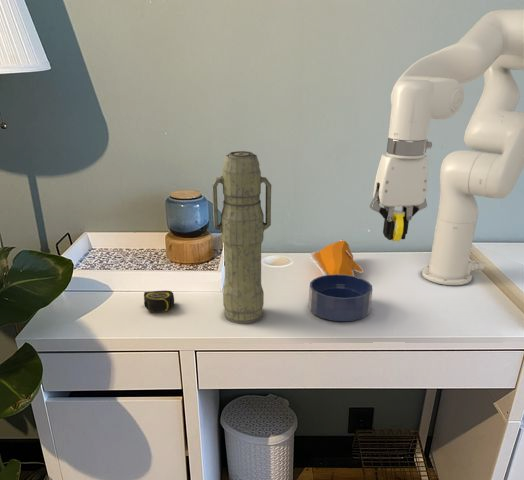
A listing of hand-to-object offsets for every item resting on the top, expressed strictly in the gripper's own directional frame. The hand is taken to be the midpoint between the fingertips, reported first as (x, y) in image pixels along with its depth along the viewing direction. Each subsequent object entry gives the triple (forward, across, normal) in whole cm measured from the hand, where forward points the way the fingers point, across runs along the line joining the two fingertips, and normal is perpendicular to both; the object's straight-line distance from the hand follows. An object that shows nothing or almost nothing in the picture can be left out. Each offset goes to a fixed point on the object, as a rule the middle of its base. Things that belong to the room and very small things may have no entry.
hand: (394, 237), depth 120 cm
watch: (+1, 0, 0) cm, 1 cm away
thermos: (+18, +32, -4) cm, 37 cm away
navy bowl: (+17, +10, -2) cm, 20 cm away
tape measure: (+18, +51, -11) cm, 55 cm away
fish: (+17, +5, -21) cm, 28 cm away
